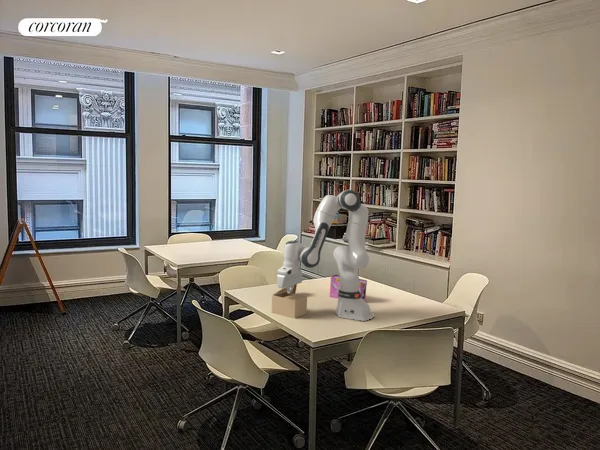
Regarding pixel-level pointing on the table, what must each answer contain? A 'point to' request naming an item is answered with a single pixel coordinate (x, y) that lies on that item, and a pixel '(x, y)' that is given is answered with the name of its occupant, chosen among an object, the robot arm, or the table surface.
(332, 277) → the gum box
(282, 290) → the carton flap
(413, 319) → the table surface
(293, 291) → the disposable coffee cup
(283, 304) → the kraft carton
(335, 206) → the robot arm
